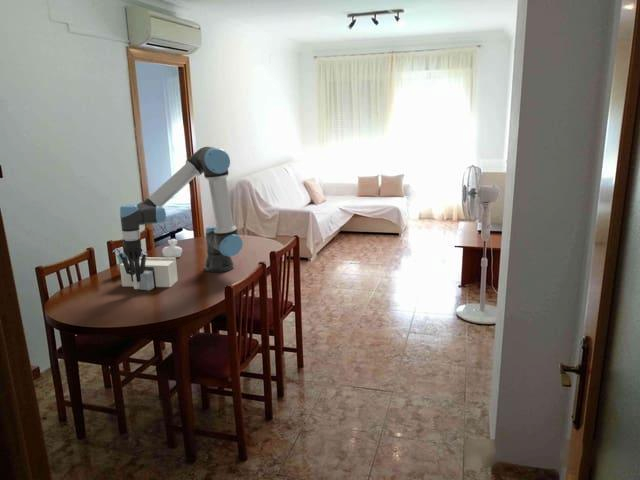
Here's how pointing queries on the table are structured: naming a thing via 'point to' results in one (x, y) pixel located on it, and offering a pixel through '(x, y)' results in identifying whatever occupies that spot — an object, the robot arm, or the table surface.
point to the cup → (119, 256)
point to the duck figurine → (172, 249)
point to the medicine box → (146, 280)
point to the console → (155, 271)
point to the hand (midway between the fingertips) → (137, 288)
